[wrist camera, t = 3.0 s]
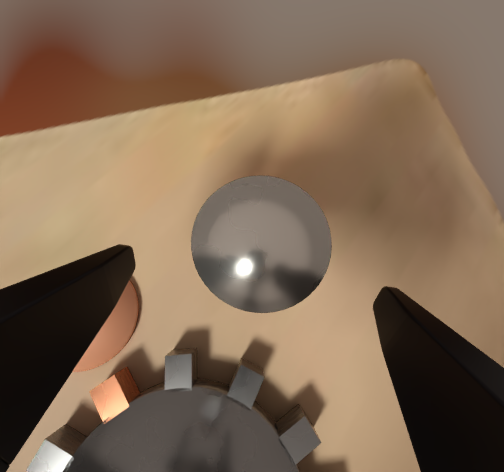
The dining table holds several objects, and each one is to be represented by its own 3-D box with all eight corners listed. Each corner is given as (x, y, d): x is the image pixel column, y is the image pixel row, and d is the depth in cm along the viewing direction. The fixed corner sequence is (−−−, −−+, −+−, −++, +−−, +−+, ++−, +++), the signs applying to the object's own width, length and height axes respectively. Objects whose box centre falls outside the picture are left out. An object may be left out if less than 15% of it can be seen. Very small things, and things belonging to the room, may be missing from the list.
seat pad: (151, 341, 15) (149, 342, 15) (47, 389, 15) (42, 391, 14) (122, 249, 17) (120, 248, 17) (25, 287, 16) (21, 287, 16)
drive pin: (293, 285, 17) (359, 276, 7) (236, 311, 16) (222, 341, 6) (267, 230, 18) (293, 155, 8) (213, 254, 17) (169, 204, 7)
